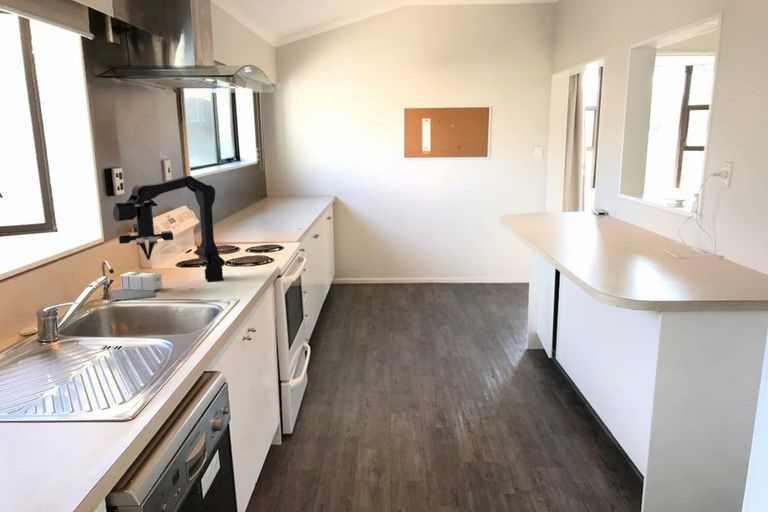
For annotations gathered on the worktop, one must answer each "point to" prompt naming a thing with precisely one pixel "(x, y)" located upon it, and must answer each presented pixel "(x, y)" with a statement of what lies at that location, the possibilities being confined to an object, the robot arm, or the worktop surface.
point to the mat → (131, 294)
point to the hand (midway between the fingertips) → (148, 259)
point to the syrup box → (141, 281)
